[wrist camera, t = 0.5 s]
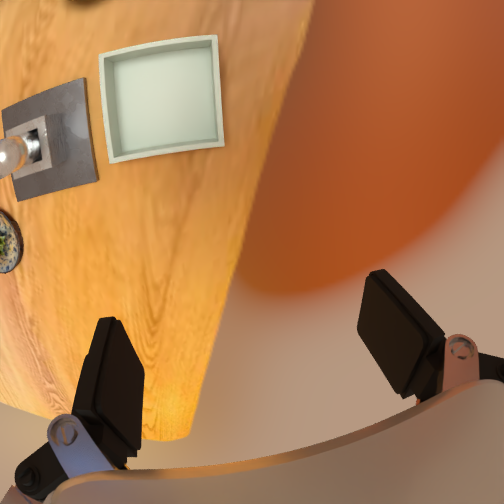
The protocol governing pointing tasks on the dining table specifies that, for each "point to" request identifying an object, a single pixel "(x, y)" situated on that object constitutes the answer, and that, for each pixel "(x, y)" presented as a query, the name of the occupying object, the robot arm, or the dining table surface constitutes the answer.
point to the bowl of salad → (9, 244)
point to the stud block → (74, 135)
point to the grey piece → (32, 147)
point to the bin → (161, 97)
